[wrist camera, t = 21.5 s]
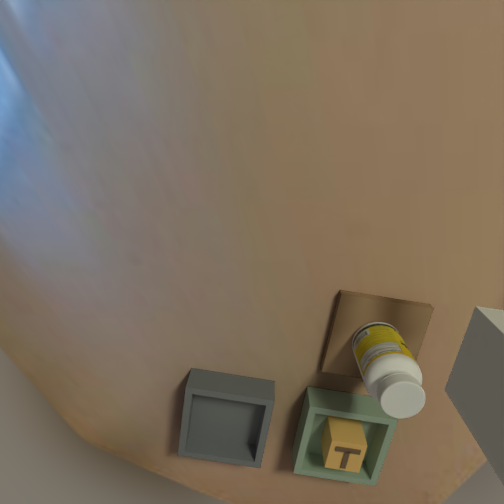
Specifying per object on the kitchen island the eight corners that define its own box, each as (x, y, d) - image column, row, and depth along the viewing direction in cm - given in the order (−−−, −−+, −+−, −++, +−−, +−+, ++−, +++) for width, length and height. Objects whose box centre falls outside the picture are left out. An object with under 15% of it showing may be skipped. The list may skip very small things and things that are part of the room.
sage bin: (291, 450, 53) (293, 473, 50) (307, 386, 49) (309, 406, 46) (368, 462, 53) (375, 486, 50) (389, 399, 50) (398, 420, 46)
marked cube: (320, 440, 51) (324, 468, 47) (327, 414, 50) (332, 441, 46) (352, 445, 51) (359, 473, 47) (360, 420, 50) (367, 446, 46)
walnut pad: (320, 366, 48) (321, 371, 48) (340, 289, 45) (341, 294, 44) (404, 379, 49) (407, 385, 48) (430, 304, 45) (433, 308, 44)
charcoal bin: (183, 433, 53) (177, 455, 49) (191, 368, 49) (185, 387, 46) (260, 445, 53) (260, 468, 50) (274, 381, 49) (274, 400, 46)
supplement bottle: (401, 359, 46) (434, 422, 37) (353, 364, 47) (373, 428, 38) (399, 316, 45) (433, 372, 36) (349, 323, 45) (369, 379, 36)
